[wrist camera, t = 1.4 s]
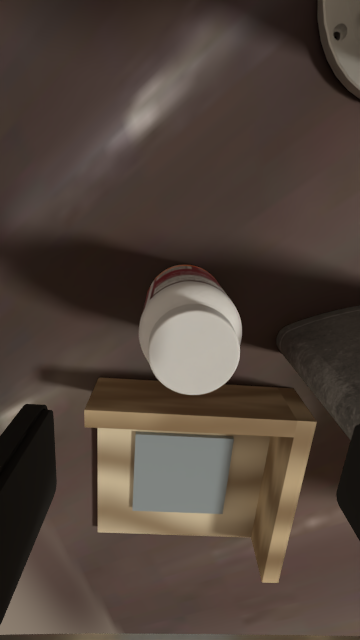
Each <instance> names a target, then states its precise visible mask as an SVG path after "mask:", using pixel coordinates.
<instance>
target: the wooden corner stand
mask: <svg viewBox="0 0 360 640" xmlns="http://www.w3.org/2000/svg"><path fill="white" fill-rule="evenodd" d="M84 412H85V427H91V428H98V532H107V533H136V534H166V535H195V536H225V537H251V539H252V543H253V547H254V551H255V555H256V560H257V564H258V568H259V572H260V576H261V580H262V582H267V583H278V581H279V577H280V573H281V568H282V564H283V560H284V556H285V552H286V548H287V544H288V539H289V535H290V531H291V527H292V523H293V519H294V515H295V510H296V506H297V502H298V498H299V494H300V490H301V486H302V481H303V477H304V473H305V469H306V465H307V461H308V457H309V452H310V448H311V444H312V440H313V436H314V432H315V427H316V423H317V421H316V420H315V418H314V417H313V416H312V414H311V413H310V411H309V410H308V408H307V407H306V406H305V404H304V403H303V401H302V400H301V398H300V397H299V396H298V394H297V393H296V391H295V390H294V388H278V387H261V386H243V385H225V384H224V385H222V386H221V387H219V388H218V389H216V390H214V391H211V392H209V393H205V394H200V395H187V394H181V393H178V392H175V391H173V390H171V389H169V388H167V387H166V386H164V385H163V384H162V383H161V382H160V381H153V380H135V379H118V378H100V377H99V378H98V381H97V383H96V385H95V387H94V390H93V392H92V394H91V396H90V399H89V401H88V403H87V405H86V408H85V410H84ZM136 432H156V433H177V434H198V435H218V436H233V437H234V442H233V449H232V455H231V462H230V468H229V475H228V482H227V488H226V495H225V501H224V508H223V514H207V513H180V512H153V511H132V510H133V486H134V461H135V436H136Z"/></svg>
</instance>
